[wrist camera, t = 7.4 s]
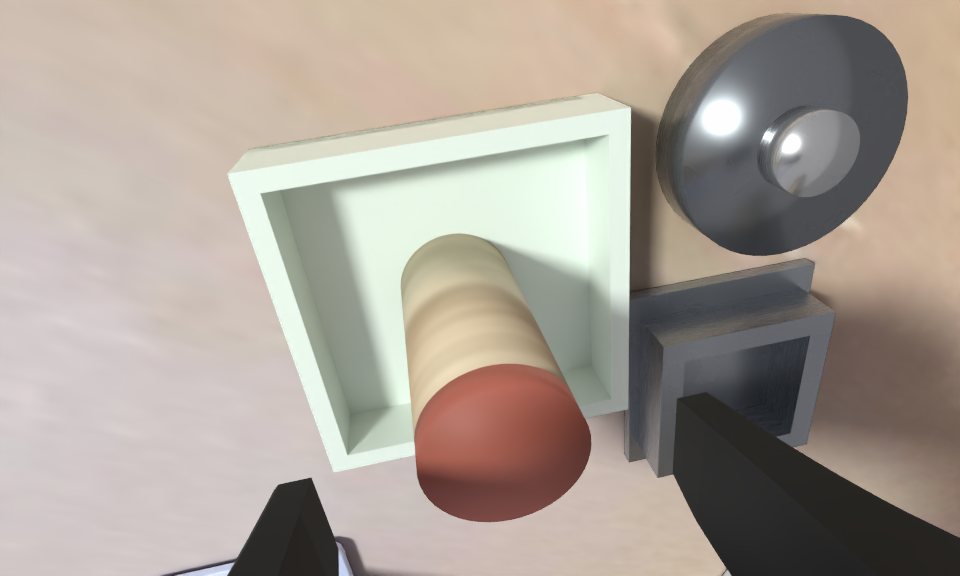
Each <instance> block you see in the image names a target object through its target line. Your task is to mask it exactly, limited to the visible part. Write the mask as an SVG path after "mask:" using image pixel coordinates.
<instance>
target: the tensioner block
mask: <svg viewBox="0 0 960 576" xmlns="http://www.w3.org/2000/svg"><path fill="white" fill-rule="evenodd" d="M814 265H815V264H814V263H812V262H810V261H809V260H807V259H799V260H794V261H789V262H784V263H779V264H774V265H769V266H764V267H758V268H753V269H748V270H743V271H738V272H733V273H728V274H723V275H718V276H712V277H707V278H702V279H697V280H692V281H687V282H682V283H677V284H671V285H666V286H661V287H656V288H651V289H646V290H641V291H636V292H630V293H629V385H628V410H625V419H624V454H625V456H626V458H627V460H628V461H629V462H633V461H637V460H642V459H647V460H648V462H649V464H650V466H651V467H652V469H653V471H654V472H655V474H656V476H657V478H659V477H664V476H668V475H672V474H673V456H674V439H675V423H676V406H677V398H681V397H686V396H690V395H695V394H700V393H704V392H707V393H708V394H710V395H712V396H713V397H715V398H716V399H718V400H720V401H721V402H723V403H724V404H726V405H727V406H729V407H730V408H732V409H734V410H735V411H737V412H738V413H740V414H741V415H743V416H744V417H746V418H747V419H749V420H750V421H752V422H753V423H755V424H757V425H758V426H760V427H761V428H763V429H764V430H766V431H767V432H769V433H771V434H772V435H774V436H775V437H777V438H778V439H780V440H782V441H783V442H785V443H786V444H788V445H790V446H791V447H796V446H801V445H805V444H807V439H808V435H809V430H810V426H811V421H812V417H813V412H814V408H815V403H816V399H817V394H818V390H819V385H820V381H821V377H822V372H823V368H824V363H825V359H826V354H827V350H828V345H829V341H830V336H831V332H832V327H833V323H834V318H835V314H836V311H834V310H833V309H831V308H830V307H828V306H827V305H825V304H824V303H822V302H821V301H819V300H818V299H817V298H815V297H814V296H812V295H811V294H809V291H810V286H811V280H812V275H813V270H814Z"/></svg>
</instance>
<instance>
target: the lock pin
mask: <svg viewBox="0 0 960 576" xmlns="http://www.w3.org/2000/svg"><path fill="white" fill-rule="evenodd" d="M401 297H402V309H403V320H404V331H405V343H406V354H407V365H408V377H409V388H410V399H411V411H412V422H413V433H414V445H415V456H416V467H417V477H418V480H419V484H420V486H421V488H422V490H423V492H424V494H425V495H426V496H427V498H428V499H429V500H430V501H431V502H432V503H433V504H434V505H435V506H437V507H438V508H439V509H441V510H442V511H444V512H446V513H448V514H450V515H452V516H455V517H458V518H461V519H465V520H469V521H477V522H499V521H506V520H512V519H516V518H520V517H523V516H526V515H529V514H532V513H534V512H536V511H539V510H541V509H543V508H545V507H546V506H548V505H550V504H552V503H553V502H554V501H556V500H557V499H559V498H560V497H561V496H562V495H564V494H565V493H566V492H567V491H568V490H569V489H570V488H571V487H572V486H573V485H574V484H575V483H576V481H577V480H578V479H579V477H580V476H581V474H582V472H583V471H584V469H585V467H586V464H587V462H588V459H589V456H590V451H591V434H590V430H589V427H588V424H587V422H586V420H585V418H584V416H583V414H582V412H581V410H580V408H579V406H578V404H577V402H576V400H575V398H574V396H573V394H572V392H571V390H570V388H569V386H568V384H567V382H566V380H565V378H564V376H563V374H562V372H561V370H560V368H559V366H558V364H557V362H556V360H555V358H554V356H553V354H552V352H551V350H550V348H549V346H548V344H547V342H546V340H545V338H544V336H543V334H542V332H541V330H540V328H539V326H538V324H537V322H536V320H535V318H534V316H533V314H532V312H531V310H530V308H529V306H528V304H527V302H526V300H525V298H524V296H523V294H522V292H521V290H520V288H519V286H518V284H517V282H516V280H515V278H514V276H513V274H512V272H511V270H510V268H509V266H508V264H507V262H506V260H505V258H504V257H503V255H502V254H501V252H500V251H499V250H498V249H497V248H496V247H495V246H494V245H492V244H491V243H490V242H488V241H486V240H484V239H482V238H480V237H477V236H474V235H469V234H448V235H443V236H440V237H437V238H435V239H433V240H430V241H428V242H427V243H425V244H424V245H422V246H421V247H420V248H419V249H417V250H416V251H415V253H414V254H413V255H412V256H411V257H410V259H409V260H408V262H407V264H406V265H405V267H404V270H403V273H402V277H401Z"/></svg>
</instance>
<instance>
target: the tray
mask: <svg viewBox="0 0 960 576" xmlns="http://www.w3.org/2000/svg"><path fill="white" fill-rule="evenodd" d="M630 158H631V107H629V106H627V105H624V104H622V103H620V102H617V101H615V100H613V99H610V98H608V97H606V96H603V95H601V94H599V93H593V94H587V95H581V96H574V97H568V98H562V99H556V100H550V101H544V102H537V103H531V104H525V105H519V106H513V107H507V108H500V109H494V110H488V111H482V112H476V113H470V114H463V115H457V116H451V117H445V118H439V119H433V120H426V121H420V122H414V123H408V124H402V125H396V126H389V127H383V128H377V129H371V130H365V131H359V132H352V133H346V134H340V135H334V136H328V137H322V138H315V139H309V140H303V141H297V142H291V143H285V144H278V145H272V146H266V147H260V148H254V149H249V150H248V151H247V152H246V153H245V154H244V155H243V156H242V158H241V159H240V160H239V161H238V162H237V163H236V165H235V166H234V167H233V168H232V169H231V170H230V171H229V173H228V174H227V175H228V178H229V180H230V183H231V186H232V189H233V192H234V194H235V197H236V200H237V203H238V206H239V208H240V211H241V214H242V217H243V220H244V222H245V225H246V228H247V231H248V234H249V236H250V239H251V242H252V245H253V248H254V250H255V253H256V256H257V259H258V262H259V264H260V267H261V270H262V273H263V276H264V278H265V281H266V284H267V287H268V290H269V292H270V295H271V298H272V301H273V304H274V306H275V309H276V312H277V315H278V318H279V320H280V323H281V326H282V329H283V332H284V334H285V337H286V340H287V343H288V346H289V349H290V351H291V354H292V357H293V360H294V363H295V365H296V368H297V371H298V374H299V377H300V379H301V382H302V385H303V388H304V391H305V393H306V396H307V399H308V402H309V405H310V407H311V410H312V413H313V416H314V419H315V421H316V424H317V427H318V430H319V433H320V435H321V438H322V441H323V444H324V447H325V449H326V452H327V455H328V458H329V461H330V463H331V466H332V469H333V472H338V471H343V470H347V469H352V468H357V467H361V466H366V465H371V464H375V463H380V462H385V461H389V460H394V459H399V458H403V457H408V456H413V455H415V445H414V433H413V422H412V411H411V399H410V388H409V377H408V365H407V354H406V343H405V331H404V320H403V309H402V297H401V277H402V273H403V270H404V267H405V265H406V264H407V262H408V260H409V259H410V257H411V256H412V255H413V254H414V253H415V251H416V250H417V249H419V248H420V247H421V246H422V245H424V244H425V243H427V242H428V241H430V240H433V239H435V238H437V237H440V236H443V235H448V234H469V235H474V236H477V237H480V238H482V239H484V240H486V241H488V242H490V243H491V244H492V245H494V246H495V247H496V248H497V249H498V250H499V251H500V252H501V254H502V255H503V257H504V258H505V260H506V262H507V264H508V266H509V268H510V270H511V272H512V274H513V276H514V278H515V280H516V282H517V284H518V286H519V288H520V290H521V292H522V294H523V296H524V298H525V300H526V302H527V304H528V306H529V308H530V310H531V312H532V314H533V316H534V318H535V320H536V322H537V324H538V326H539V328H540V330H541V332H542V334H543V336H544V338H545V340H546V342H547V344H548V346H549V348H550V350H551V352H552V354H553V356H554V358H555V360H556V362H557V364H558V366H559V368H560V370H561V372H562V374H563V376H564V378H565V380H566V382H567V384H568V386H569V388H570V390H571V392H572V394H573V396H574V398H575V400H576V402H577V404H578V406H579V408H580V410H581V412H582V414H583V416H584V418H585V419H586V418H590V417H595V416H600V415H604V414H609V413H614V412H618V411H623V410H628V385H629V271H630Z"/></svg>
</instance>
